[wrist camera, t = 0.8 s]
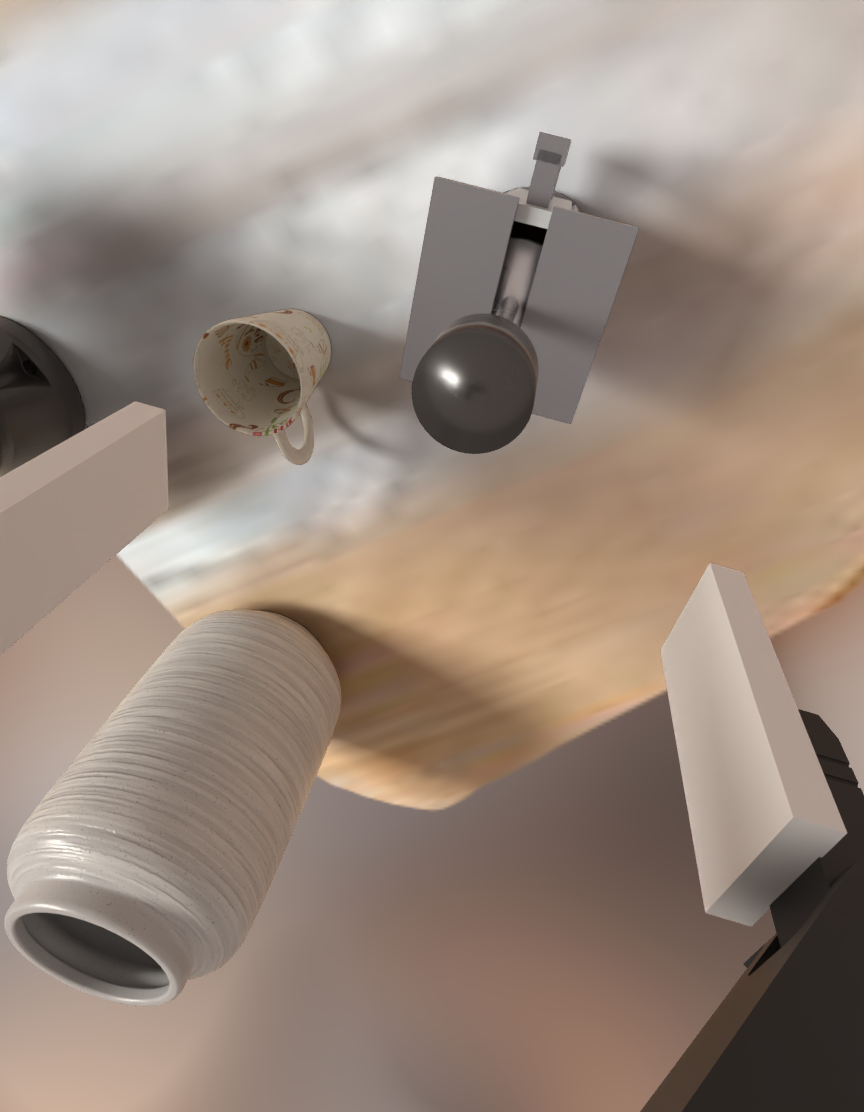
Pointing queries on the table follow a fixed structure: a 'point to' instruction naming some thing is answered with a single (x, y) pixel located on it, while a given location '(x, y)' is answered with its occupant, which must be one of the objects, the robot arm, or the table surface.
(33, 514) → the robot arm
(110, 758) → the vase
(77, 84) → the table surface
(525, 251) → the plunger
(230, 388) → the mug
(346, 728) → the table surface
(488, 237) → the grey french press
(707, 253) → the table surface
